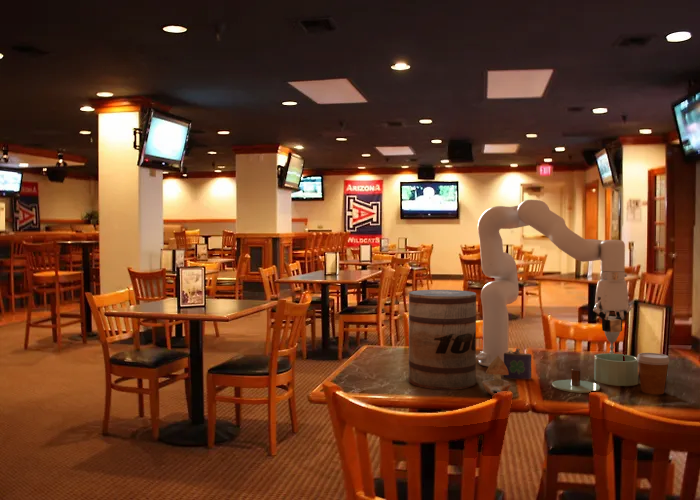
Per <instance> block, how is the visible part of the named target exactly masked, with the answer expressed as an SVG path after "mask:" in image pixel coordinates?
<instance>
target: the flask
mask: <svg viewBox="0 0 700 500" xmlns="http://www.w3.org/2000/svg"><path fill="white" fill-rule="evenodd" d="M520 350H521V348H515V351H512V352H511V350H508V352H506V353H504V364H505V365H506V367H507V369H508V373H509V375H503V378H504V379H511V380H512V379H514V380H531V379H532V354H531V353H522V352H521V351H520Z"/></svg>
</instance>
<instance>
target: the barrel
mask: <svg viewBox="0 0 700 500" xmlns="http://www.w3.org/2000/svg"><path fill="white" fill-rule="evenodd" d="M476 355H477V293H476V292H474V291H469V290H460V289H419V290H418V289H417V290H412V291H409V292H408V382H409V383H410V384H412V385H413V386H416V387H420V388H425V389H432V390H462V389H467V388H471V387H473V386H475V385H476V383H477V382H476V380H477V378H476V377H477V376H476V374H477V365H476V364H477V359H476Z"/></svg>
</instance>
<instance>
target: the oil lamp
mask: <svg viewBox="0 0 700 500" xmlns="http://www.w3.org/2000/svg"><path fill="white" fill-rule="evenodd" d="M485 374H486V375H491V376H493V377H492V379H484V380H483V381H482V387H483V389H484V390H485V392H486V393H487V394H489V395H491V396H492V397H493V395H494V394H495V393H497V392H500V391H507V392H508V391H509V390H510V388H511V385H512V383H511V381H509V380H505V379H502V376H504V375H509V373H508V369H507V367H506V365H505V364H504V362H503V361H502V360H501V358H500V357H499V356H497V357H496V358H495V359H494V360H493V361H492V363H491V364H490V365H489V367H488V366H487V369H486V372H485Z"/></svg>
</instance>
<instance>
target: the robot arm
mask: <svg viewBox="0 0 700 500" xmlns="http://www.w3.org/2000/svg"><path fill="white" fill-rule="evenodd" d="M527 226H528V227H529V226H530V227H531V228H533V229H534V230H536V231H537V232H538V233H540V234H542V235H543V236H545V237H547V238H548V239H549V240H550V242H552V243H553V244H554V245H555V247H556V248H558V249H559V250H561V251H562V252H563V253H564V254H566V255H568V256H570V257H571V258H573V259H574V260H576V261H578V262H581V263H584V262H585V263H586V262H596V261H600V279H599V280H598V281H597V283H596V284H597V285H596V289H595V299H594V307H593V309H592V311H593V312H594V313H595V314H597V316H598V317H599V318H600V319H601V330H602V331H603V332H604V331H606V332H609V331H610V320H608V318H609V316H610V312H612V311H613V312H614V314H615V317H616V318H615V319H619V320H621V332H622V331H623V320H624V319H625V317H626V315H628V313H629V312H631V311H632V307H631V306H630V304H629V290H628V284H627V280H626V277H628V273H627V272H625V269H626V267H625V265H626V244H625V242H624V241H623V240H621V239H605V240H601V239H595V238H584V237H582V236H580V235H579V234H577V233H576V232H574V231H573V230H572V229H570V228H569V227H568V226H567V224H566V221H565V219H564V218H563V217H561V216H560V215H559V214H557V213H556V212H555V211H552V210H551V209H550V206H549V205H548V204H547V203H546V202H544V201H543V200H540V199H526V200H523V201H522V202H521V203H520V204H518V205H514V206H503V205H497V206H492V207H490V208H488V209H485V211H484V212H483V213H482V214H481V215H480V217H479V219H478V223H477V234H478V235H477V236H478V240H479V252H480V253H479V254H480V265H481V271H482V273H483V275H484V276H485V277H487V278H490V279H491V278H494V280H493V281H490V282H487V283H486V284H485V285H484V286H483V287H482V289H481V291H480V300H481V306H482V351H479V353H478V354H476V361H478V364H479V365H481V366H483V367H487V368H488V367H489V365H490V364H491V363H492V361H493V360H494V359H495V358H496V357H497V356H499V357H500V358H501V360H502V361H503V362H504V353H506V352H509V339H510V337H509V333H510V332H509V331H510V330H509V329H510V327H509V326H510V325H509V323H510V321H509V318H510V317H509V311H508V306H507V305H510V304H513V303H514V302H516V300H517V299H518V297H519V291H520V289H519V288H520V287H519V278H518V269H517V263H516V261H515V258H514V257H513V256H512V255H511V254H510V253H508V252H504V247H503V239H502V236H501V233H500V231H501V230H511V229H518V228H523V227H527Z"/></svg>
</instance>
